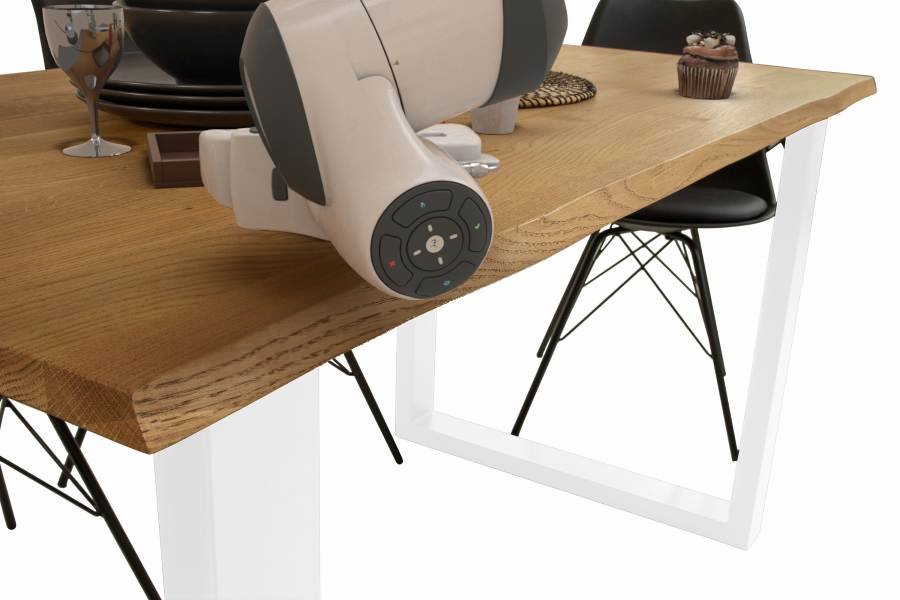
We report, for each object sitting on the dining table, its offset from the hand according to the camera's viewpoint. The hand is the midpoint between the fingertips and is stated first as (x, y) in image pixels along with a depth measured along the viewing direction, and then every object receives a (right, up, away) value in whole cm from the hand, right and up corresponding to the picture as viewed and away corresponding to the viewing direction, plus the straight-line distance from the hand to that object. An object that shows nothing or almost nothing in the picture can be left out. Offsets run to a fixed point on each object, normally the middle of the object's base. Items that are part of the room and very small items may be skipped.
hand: (323, 137), depth 80 cm
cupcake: (+50, +19, +80) cm, 96 cm away
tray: (-11, +1, +24) cm, 26 cm away
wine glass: (-29, +3, +30) cm, 42 cm away
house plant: (+16, +9, +48) cm, 51 cm away
